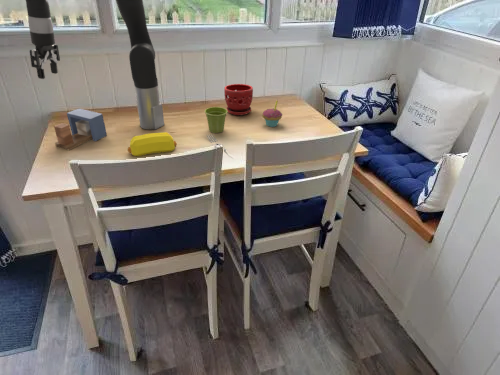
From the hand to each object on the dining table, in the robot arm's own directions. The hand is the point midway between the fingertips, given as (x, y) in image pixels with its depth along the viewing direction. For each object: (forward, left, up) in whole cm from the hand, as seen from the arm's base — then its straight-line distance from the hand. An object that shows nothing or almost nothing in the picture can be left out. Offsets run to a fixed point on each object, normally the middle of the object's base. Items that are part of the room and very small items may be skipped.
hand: (48, 75), depth 138 cm
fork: (-67, -16, -23) cm, 72 cm away
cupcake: (-74, -47, -22) cm, 90 cm away
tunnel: (-14, -1, -22) cm, 26 cm away
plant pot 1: (-56, -30, -22) cm, 67 cm away
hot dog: (-45, -2, -22) cm, 50 cm away
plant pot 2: (-54, -54, -22) cm, 79 cm away
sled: (-14, +5, -22) cm, 26 cm away
